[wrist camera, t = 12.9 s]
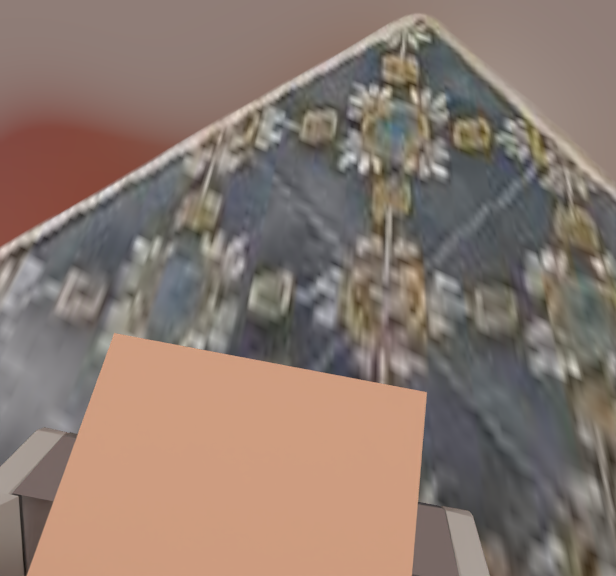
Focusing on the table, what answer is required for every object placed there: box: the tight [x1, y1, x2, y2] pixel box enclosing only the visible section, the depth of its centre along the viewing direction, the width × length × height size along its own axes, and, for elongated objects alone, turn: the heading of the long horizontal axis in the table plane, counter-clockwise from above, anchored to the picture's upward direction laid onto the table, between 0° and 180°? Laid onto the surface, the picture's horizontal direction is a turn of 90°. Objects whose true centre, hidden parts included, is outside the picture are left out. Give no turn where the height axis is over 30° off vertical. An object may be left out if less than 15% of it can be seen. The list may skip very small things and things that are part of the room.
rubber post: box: [27, 333, 427, 576], centre depth 12 cm, size 5×5×11 cm
